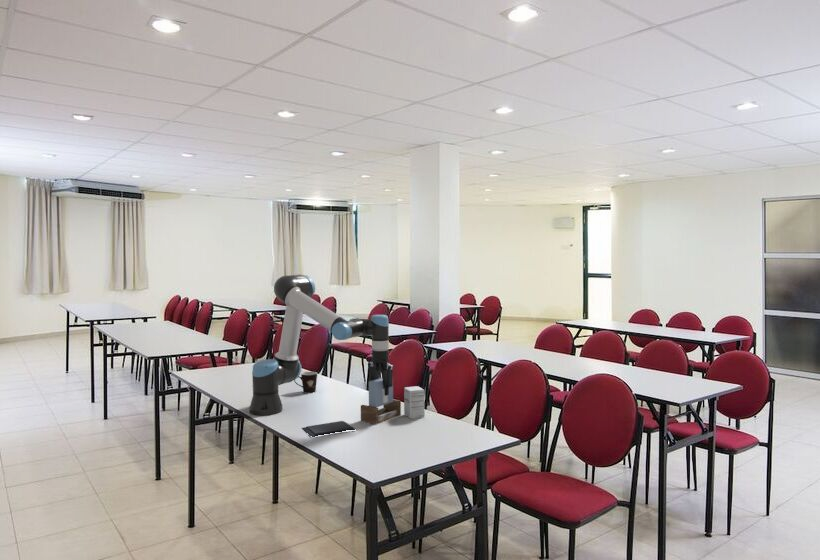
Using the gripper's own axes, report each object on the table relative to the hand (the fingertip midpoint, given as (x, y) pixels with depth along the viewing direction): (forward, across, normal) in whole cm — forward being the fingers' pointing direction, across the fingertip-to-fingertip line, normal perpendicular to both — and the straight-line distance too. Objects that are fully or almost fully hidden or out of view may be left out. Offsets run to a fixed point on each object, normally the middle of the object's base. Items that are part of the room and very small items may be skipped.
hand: (381, 401), depth 249 cm
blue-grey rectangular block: (+1, 0, 0) cm, 1 cm away
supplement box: (+8, -10, -12) cm, 17 cm away
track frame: (+7, 0, 0) cm, 7 cm away
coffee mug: (+7, +64, -14) cm, 66 cm away
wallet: (+8, +7, +26) cm, 28 cm away
